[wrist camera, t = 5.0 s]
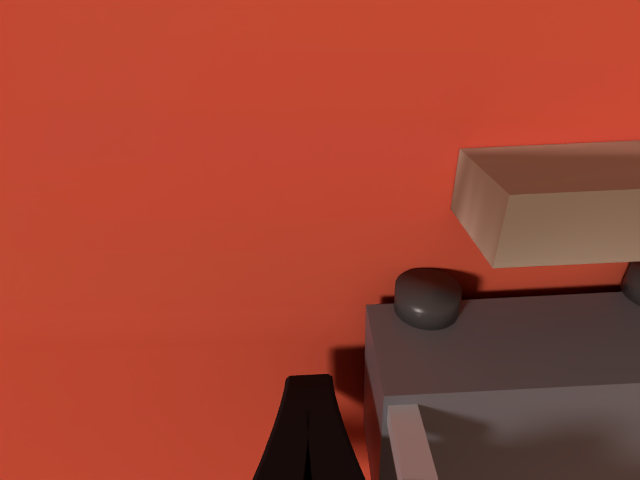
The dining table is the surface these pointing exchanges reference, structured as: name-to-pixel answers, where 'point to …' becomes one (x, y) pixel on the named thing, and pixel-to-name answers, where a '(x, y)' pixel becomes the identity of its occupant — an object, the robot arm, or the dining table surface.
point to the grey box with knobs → (502, 383)
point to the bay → (551, 203)
